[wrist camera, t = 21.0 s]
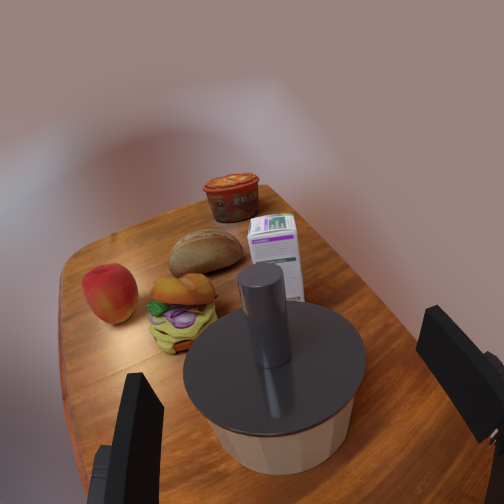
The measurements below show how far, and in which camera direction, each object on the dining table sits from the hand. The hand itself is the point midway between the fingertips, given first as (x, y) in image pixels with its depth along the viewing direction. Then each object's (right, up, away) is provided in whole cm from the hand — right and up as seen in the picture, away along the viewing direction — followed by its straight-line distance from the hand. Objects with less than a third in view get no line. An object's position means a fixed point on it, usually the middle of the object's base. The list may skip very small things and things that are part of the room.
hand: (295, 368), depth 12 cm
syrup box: (+3, -4, +29) cm, 30 cm away
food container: (-6, +16, +73) cm, 75 cm away
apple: (-25, -6, +35) cm, 43 cm away
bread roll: (-10, +1, +46) cm, 47 cm away
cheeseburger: (-11, -7, +30) cm, 33 cm away
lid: (0, -3, +10) cm, 11 cm away
